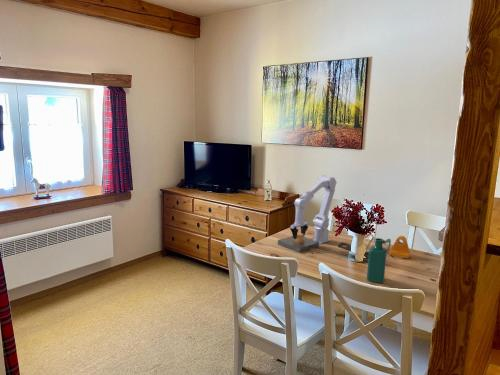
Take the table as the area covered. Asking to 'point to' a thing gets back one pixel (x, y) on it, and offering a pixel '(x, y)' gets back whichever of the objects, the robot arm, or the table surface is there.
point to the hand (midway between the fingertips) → (298, 237)
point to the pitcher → (377, 261)
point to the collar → (298, 244)
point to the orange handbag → (400, 248)
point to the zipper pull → (350, 250)
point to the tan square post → (299, 238)
